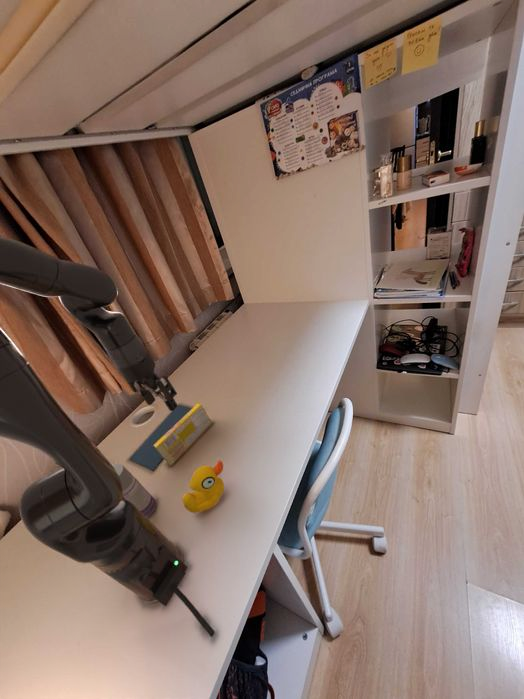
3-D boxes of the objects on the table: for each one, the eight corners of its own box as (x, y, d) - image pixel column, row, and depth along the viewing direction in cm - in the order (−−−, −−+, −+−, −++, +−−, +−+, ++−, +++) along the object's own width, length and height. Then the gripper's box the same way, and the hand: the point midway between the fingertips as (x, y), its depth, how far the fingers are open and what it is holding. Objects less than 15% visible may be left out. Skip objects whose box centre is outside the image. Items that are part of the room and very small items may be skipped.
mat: (202, 411, 93) (202, 410, 92) (153, 470, 78) (153, 470, 78) (178, 405, 98) (178, 404, 98) (129, 459, 84) (128, 458, 84)
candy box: (208, 421, 88) (197, 402, 84) (212, 423, 87) (202, 404, 82) (166, 463, 79) (152, 444, 75) (170, 466, 78) (156, 447, 73)
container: (135, 508, 70) (100, 473, 62) (152, 494, 72) (120, 458, 64) (141, 522, 67) (105, 487, 59) (159, 507, 69) (126, 471, 61)
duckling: (228, 474, 71) (214, 449, 66) (239, 490, 67) (224, 464, 61) (187, 506, 67) (168, 483, 62) (196, 525, 63) (177, 501, 57)
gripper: (99, 363, 67) (135, 411, 76) (138, 370, 60) (172, 422, 68) (124, 344, 72) (155, 391, 81) (162, 349, 65) (191, 399, 73)
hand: (162, 405), depth 75 cm, fingers open, 8 cm apart
